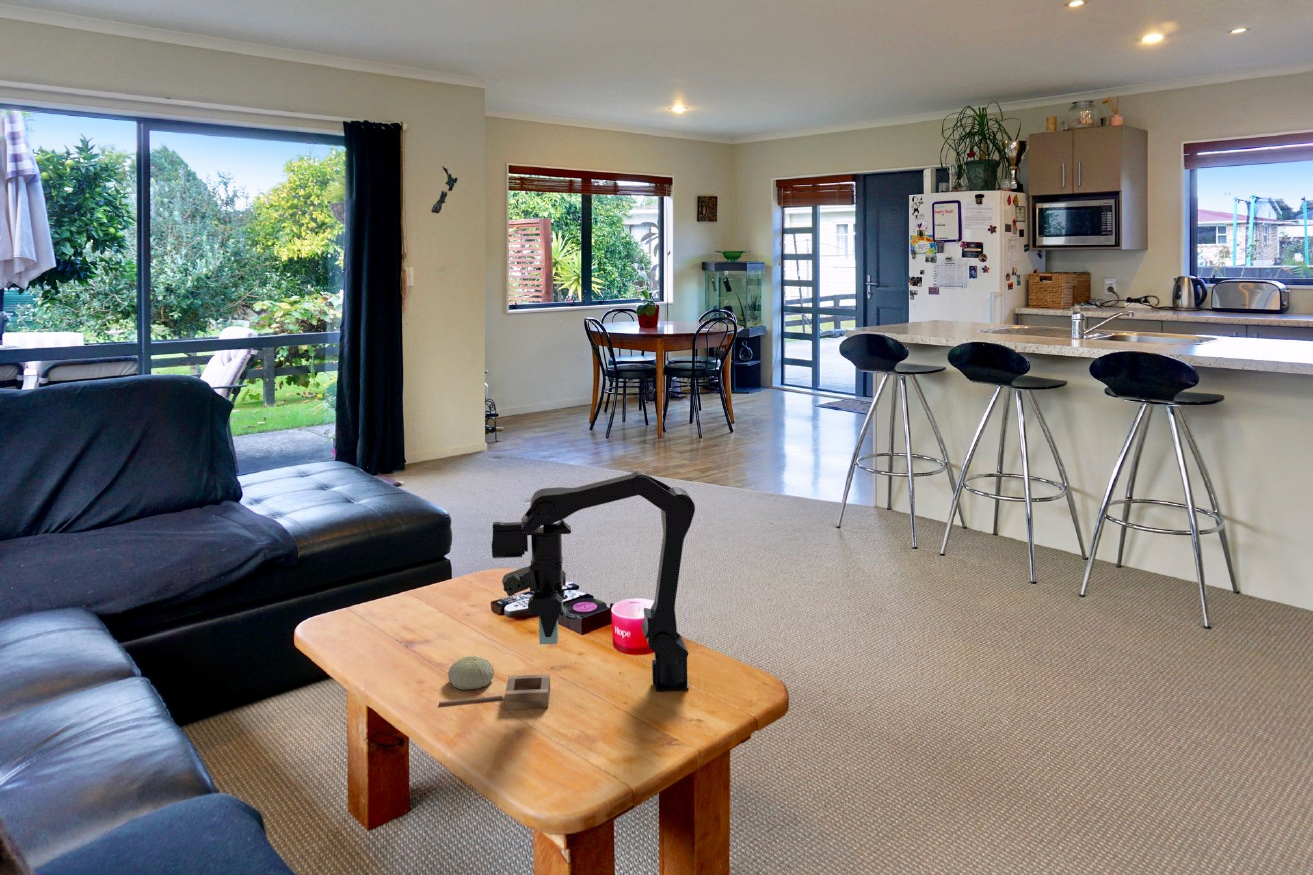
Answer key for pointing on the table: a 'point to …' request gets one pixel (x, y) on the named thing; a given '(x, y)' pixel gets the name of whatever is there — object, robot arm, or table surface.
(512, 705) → the wooden socket block
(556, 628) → the teal rectangular block
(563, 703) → the table surface
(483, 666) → the sea urchin shell
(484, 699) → the brown wooden rod
